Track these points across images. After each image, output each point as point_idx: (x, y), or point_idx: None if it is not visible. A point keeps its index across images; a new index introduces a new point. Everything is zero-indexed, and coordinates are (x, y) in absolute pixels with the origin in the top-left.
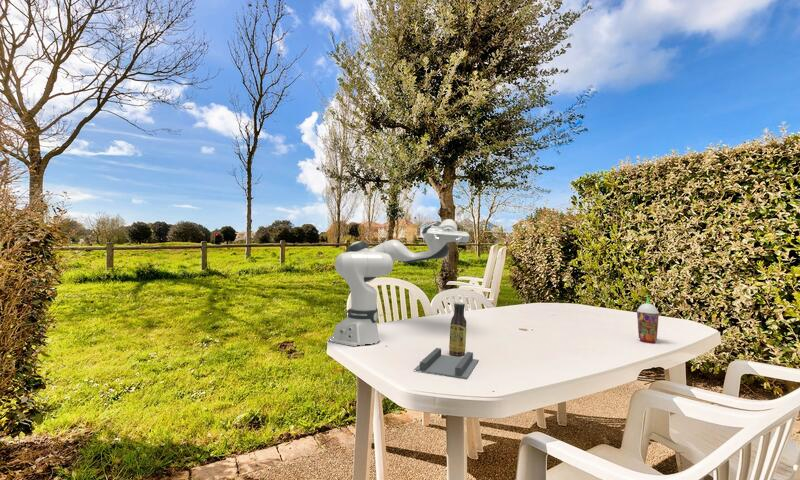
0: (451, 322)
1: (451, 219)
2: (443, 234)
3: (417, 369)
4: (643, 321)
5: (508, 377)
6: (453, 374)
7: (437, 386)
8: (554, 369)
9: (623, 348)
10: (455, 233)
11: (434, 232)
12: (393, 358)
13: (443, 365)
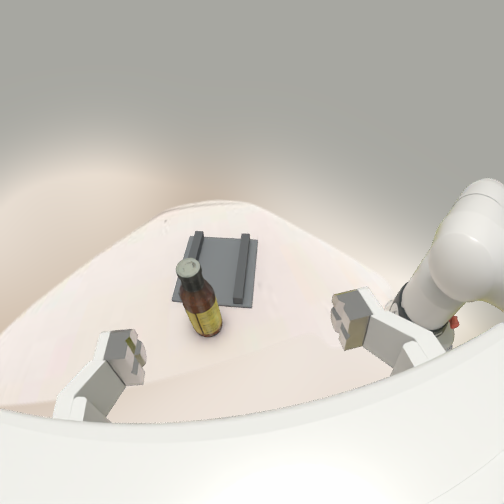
0: (211, 288)
1: None
2: (319, 399)
3: (252, 241)
4: None
5: (142, 255)
6: (206, 239)
7: (220, 215)
8: (80, 295)
9: None
10: (106, 486)
11: (469, 369)
12: (303, 274)
13: (222, 262)
